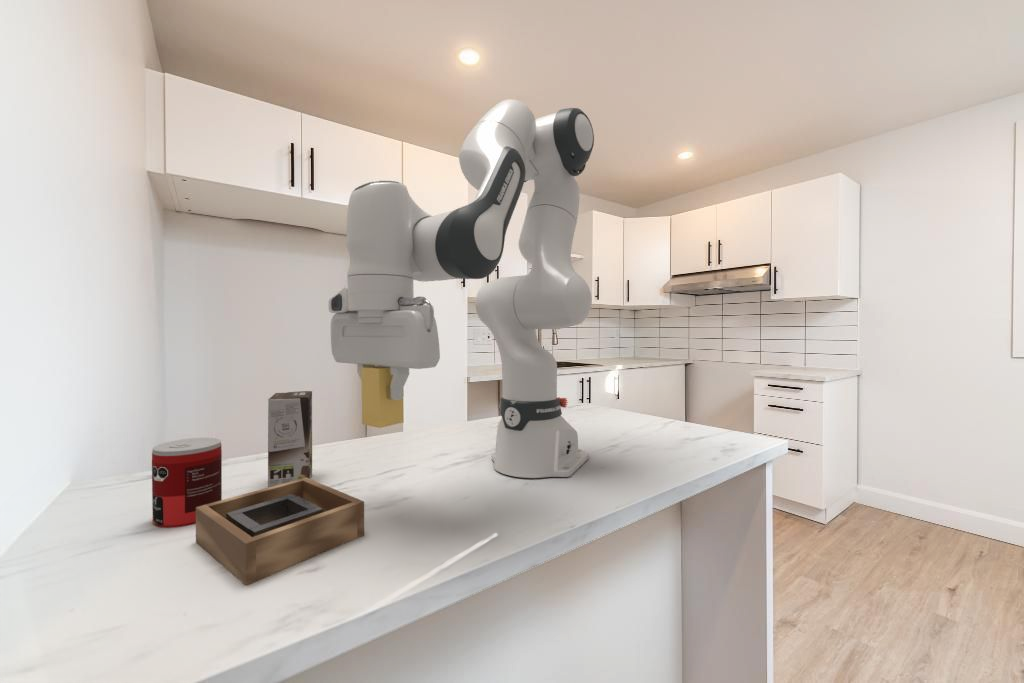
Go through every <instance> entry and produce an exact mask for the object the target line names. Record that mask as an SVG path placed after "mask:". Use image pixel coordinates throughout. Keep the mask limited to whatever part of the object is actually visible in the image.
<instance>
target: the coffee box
mask: <svg viewBox="0 0 1024 683" xmlns="http://www.w3.org/2000/svg"><path fill="white" fill-rule="evenodd" d="M267 402H268V406H267V408H268V409H267V413H268V414H267V423H268V424H267V425H268V427H267V431H268V432H267V433H268V434H267V488H269V487H272V486H276V485H280V484H284V483H287V482H291V481H295V480H298V479H302V478H306V477H307V478H309V479H311V480H312V476H313V391H312V390H305V391H303V390H301V391H288V392H275V393H274V394H273V395H272V396H270V397H269V398H268V399H267Z"/></svg>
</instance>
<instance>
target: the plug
mask: <svg viewBox="0 0 1024 683" xmlns="http://www.w3.org/2000/svg"><path fill="white" fill-rule="evenodd" d="M392 378H393V375H391V374H390V367H388V366H376V365H375V366H370V367H361V379H360V381H361V380H362V381H361V421H362V422H361V424H362V425H366V426H370V427H374V428H379V429H381V428H385V427H389V426H390V427H391V426H395V425H398V424H403V423H404V397H403V398H402V399H400V400H390V399H387V396H386V395H387V392H386V387H389V386H390V385H391V381H392Z"/></svg>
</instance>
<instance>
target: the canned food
mask: <svg viewBox="0 0 1024 683" xmlns="http://www.w3.org/2000/svg"><path fill="white" fill-rule="evenodd" d="M222 452H223V450H222V440H221V439H219V438H217V437H215V438H214V437H192V438H183V439H175V440H171V441H166V442H163V443H160V444H157V445H155V446H153V447H152V452H151V485H152V486H151V490H152V492H151V493H152V494H151V495H152V497H151V498H152V499H151V500H152V503H151V504H152V522H153V525H154V526H155V527H158V528H168V529H169V528H180V527H187V526H191V525H196V507H198V506H202V505H206V504H209V503H213V502H217V501H221V500H223V499H222V498H223V497H222V494H223V493H222V486H223V485H222V483H223V482H222V475H223V474H222V472H223V471H222V466H223V464H222V463H223V462H222V461H223V460H222V454H223V453H222Z"/></svg>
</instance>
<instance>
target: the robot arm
mask: <svg viewBox="0 0 1024 683" xmlns="http://www.w3.org/2000/svg"><path fill="white" fill-rule="evenodd" d="M594 143H595V134H594V129H593V126H592V123H591V120H590V118H589V116H587V114H586V113H585V112H584V111H583V110H582V109H580V108H578V107H568V108H564V109H559V110H557V112H554V113H550V114H547V115H543V116H541V117H537V118H536V117H535V115H534V113H533V112H532V110H531V109H530V107H529V106H528V105H526V104H525V103H524V102H523V101H520V100H517V99H514V98H513V99H511V98H510V99H504V100H502V101H499V102H498V103H497V104H496V105H494V106H493V107H491V109H489V110H488V111H486V113H485V114H483V116H481V118H480V119H478V121H477V122H476V124H475V125H474V127H473V128H472V129H471V130H470V132H469V133H468V134H467V136H466V138H465V139H464V141H463V143H462V145H461V148H460V150H459V152H458V153H459V154H458V161H459V167H460V169H461V173H462V174H463V176H464V178H465V179H466V182H468V183H469V185H471V186H472V187H473V188H474V189H476V190H477V193H476V195H475V197H474V199H473V200H472V201H471V202H470V203H468V204H466V205H464V206H461V207H458V208H455V209H453V210H450V211H447V212H443V213H439V214H436V215H431V214H429V213H427V212H426V211H425V210H424V209H422V208H421V207H420V206H419V204H417V203H416V202H415V201H414V200H413V197H411V196H410V192H409V191H408V187H407V186H406V185H405V184H404V183H401V182H400V181H399V182H398V181H395V180H394V181H393V180H377V181H370V182H369V181H368V182H367V183H363V184H362V185H359V186H357V187H356V188H354V190H352V191H351V194H350V196H349V200H348V205H347V212H346V215H347V216H346V247H347V251H348V253H349V266H348V270H347V278H346V279H347V280H346V281H347V282H346V283H347V284H346V285H345V286H344V287H343V288H342V289H341V290H340V291H339V292H337V293H336V294H334V295H333V296H331V297H330V298H329V300H328V312H329V313H330V314H333V315H332V317H331V319H330V320H331V321H330V344H331V345H330V346H331V354H332V357H333V359H334V361H335V362H336V363H342V364H353V365H356V367H357V374H358V377H359V378H360V381H361V382H362V380H361V367H370V366H388V367H390V374H391V375H393V378H392V381H391V385H390V386H389V387H386V392H387V395H386V396H387V399H390V400H400V399H402V398H403V399H404V392H405V391H404V387H405V385H406V383H407V381H408V378H409V376H410V369H412V370H414V369H415V370H417V369H418V370H421V369H430V368H435V367H437V365H438V363H439V361H440V358H441V352H440V342H439V341H440V340H439V339H440V338H439V332H438V326H437V320H436V318H435V313H434V312H435V309H434V305H432V303H431V302H430V300H428V299H427V298H426V297H424V296H416V297H414V293H415V292H414V281H418V282H422V283H424V282H426V283H427V282H435V281H436V282H437V281H438V282H439V281H448V280H449V281H450V280H458V279H460V280H480V279H485V278H487V277H488V276H490V275H491V274H492V273H493V272H494V271H495V270H496V268H497V267H498V265H499V263H500V262H501V259H502V257H503V252H504V247H505V241H506V234H507V231H508V230H507V229H508V227H509V224H510V222H511V219H512V216H513V213H514V211H515V208H516V206H517V204H518V201H519V199H520V196H521V193H522V190H523V187H524V185H525V184H524V183H526V182H528V181H532V180H533V182H534V192H533V193H532V195H531V198H530V199H529V200H530V201H529V204H528V207H527V209H526V212H525V213H526V214H525V216H524V220H523V223H522V228H521V230H520V231H521V232H520V235H519V239H518V248H519V251H520V254H521V255H522V258H523V259H525V261H527V262H528V263H530V264H531V269H530V271H529V273H528V274H525V275H516V276H506V277H505V276H503V277H499V278H497V279H494V280H491V281H488V282H486V283H484V284H483V285H481V287H480V288H479V289H478V291H477V293H476V296H475V300H474V301H475V304H474V305H475V311H476V314H477V316H478V318H479V320H480V321H481V322H482V323H483V325H485V326H486V327H487V328H488V329H489V331H490V332H491V334H492V336H493V338H494V340H495V342H496V345H497V348H498V352H499V354H500V360H501V377H502V378H501V379H502V380H501V381H502V382H501V383H502V388H501V389H502V393H501V394H502V395H501V397H500V400H499V415H500V416H501V419H500V420H499V422H498V424H497V429H496V438H495V439H496V440H495V451H494V453H493V454H492V453H491V454H492V455H491V460H493V461H492V462H493V468H494V470H495V471H496V472H498V473H501V474H503V475H507V476H511V477H514V478H515V477H516V478H524V479H540V478H541V479H542V478H550V477H553V478H554V477H555V478H557V477H558V478H567V477H571V476H572V475H573V474H574V473H575V472H576V471H577V470H579V468H580V467H581V466H582V465H584V464H585V462H586V461H587V460H589V458H590V454H589V452H588V451H585V450H582V449H581V448H579V436H578V432H577V430H576V429H575V428H574V427H573V426H572V425H571V424H570V423H569V422H568V421H567V420H566V419H565V418H564V417H563V416H562V415H563V413H562V408H565V409H566V407H567V405H568V402H569V401H568V399H567V397H558V386H557V385H558V363H557V361H556V358H555V356H554V355H553V354H552V353H551V352H550V351H548V350H547V349H546V348H544V347H543V346H542V345H541V343H540V342H539V339H538V336H537V332H536V330H560V329H561V330H562V329H564V328H570V327H574V326H578V325H580V324H582V323H583V322H584V321H585V320H586V319H587V317H588V315H589V313H590V311H591V307H592V292H591V288H590V286H589V285H588V284H589V283H587V281H586V280H585V279H584V277H582V276H581V275H580V274H579V273H578V272H577V271H576V270H575V269H574V267H573V263H572V258H571V256H572V254H571V253H572V248H573V247H572V246H573V242H574V241H573V240H574V236H575V232H576V227H577V222H578V217H579V210H580V209H579V208H580V186H579V183H578V182H577V180H576V178H575V177H577V176H579V175H581V174H582V173H583V172H584V171H585V168H586V165H587V162H588V161H589V159H590V158H591V154H592V151H593V148H594V145H595V144H594ZM588 457H589V458H588Z"/></svg>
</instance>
